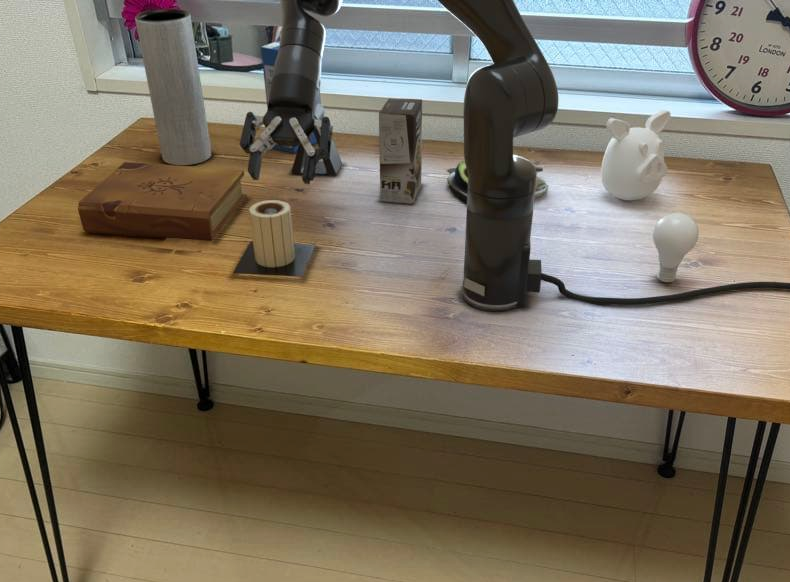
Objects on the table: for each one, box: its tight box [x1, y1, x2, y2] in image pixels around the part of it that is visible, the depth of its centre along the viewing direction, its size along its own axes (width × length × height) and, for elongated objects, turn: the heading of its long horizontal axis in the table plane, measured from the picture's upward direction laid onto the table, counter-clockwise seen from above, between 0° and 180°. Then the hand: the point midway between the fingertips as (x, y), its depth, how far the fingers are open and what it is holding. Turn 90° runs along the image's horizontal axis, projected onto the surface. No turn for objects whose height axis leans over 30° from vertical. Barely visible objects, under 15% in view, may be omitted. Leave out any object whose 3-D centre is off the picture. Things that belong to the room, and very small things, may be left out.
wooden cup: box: [248, 199, 295, 267], centre depth 127 cm, size 6×6×8 cm
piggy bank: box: [600, 109, 671, 201], centre depth 144 cm, size 12×12×15 cm
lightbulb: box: [652, 211, 700, 284], centre depth 121 cm, size 6×6×11 cm
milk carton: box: [260, 40, 322, 154], centre depth 166 cm, size 10×6×20 cm, turn 147°
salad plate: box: [445, 160, 549, 204], centre depth 151 cm, size 19×18×5 cm
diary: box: [77, 161, 248, 241], centre depth 142 cm, size 23×19×6 cm
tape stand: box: [232, 208, 316, 278], centre depth 127 cm, size 11×11×9 cm
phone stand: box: [291, 103, 343, 177], centre depth 157 cm, size 9×6×12 cm, turn 81°
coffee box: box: [378, 98, 423, 205], centre depth 146 cm, size 9×6×16 cm
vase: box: [134, 8, 212, 166], centre depth 158 cm, size 10×10×27 cm
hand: (279, 180), depth 127 cm, fingers open, 8 cm apart
